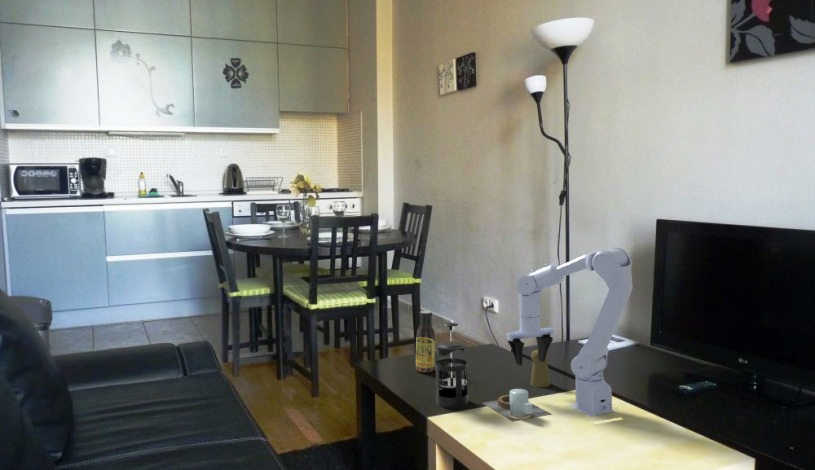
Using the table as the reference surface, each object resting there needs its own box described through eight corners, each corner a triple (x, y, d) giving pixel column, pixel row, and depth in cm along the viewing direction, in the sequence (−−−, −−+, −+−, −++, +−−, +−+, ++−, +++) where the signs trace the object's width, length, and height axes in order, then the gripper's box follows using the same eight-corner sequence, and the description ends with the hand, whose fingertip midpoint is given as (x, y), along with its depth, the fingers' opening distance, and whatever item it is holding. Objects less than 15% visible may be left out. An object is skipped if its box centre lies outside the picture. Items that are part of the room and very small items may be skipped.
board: (552, 416, 167) (552, 408, 167) (512, 423, 163) (512, 416, 163) (518, 398, 182) (518, 391, 182) (481, 404, 177) (481, 397, 177)
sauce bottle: (413, 372, 210) (412, 313, 209) (418, 367, 216) (417, 309, 215) (432, 374, 209) (431, 313, 207) (437, 368, 214) (436, 310, 213)
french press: (476, 407, 175) (474, 325, 174) (445, 413, 172) (443, 328, 170) (457, 395, 186) (455, 317, 184) (427, 400, 182) (425, 320, 181)
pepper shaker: (549, 383, 196) (548, 347, 195) (551, 389, 190) (551, 352, 189) (529, 383, 196) (528, 347, 196) (531, 389, 190) (530, 352, 190)
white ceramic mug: (506, 412, 169) (506, 390, 168) (522, 410, 170) (521, 387, 170) (521, 422, 162) (521, 398, 161) (537, 419, 163) (537, 396, 163)
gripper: (543, 311, 188) (543, 356, 189) (500, 315, 183) (501, 362, 184) (557, 315, 182) (557, 362, 183) (513, 320, 176) (514, 368, 177)
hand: (530, 362), depth 183 cm, fingers open, 7 cm apart
